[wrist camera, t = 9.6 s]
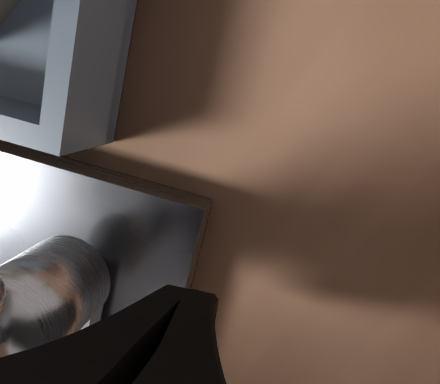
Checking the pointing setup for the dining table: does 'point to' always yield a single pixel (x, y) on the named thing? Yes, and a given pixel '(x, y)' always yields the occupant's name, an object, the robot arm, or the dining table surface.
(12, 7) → the block
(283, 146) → the dining table surface
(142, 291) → the crank plate
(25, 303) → the crank
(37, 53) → the tray
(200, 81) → the dining table surface
